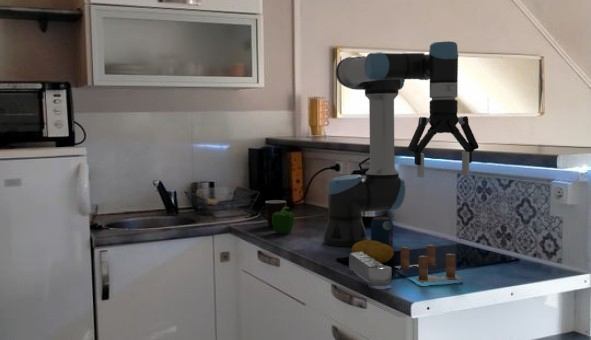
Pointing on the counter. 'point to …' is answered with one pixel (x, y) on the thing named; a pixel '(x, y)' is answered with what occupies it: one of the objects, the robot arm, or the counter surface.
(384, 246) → the potato
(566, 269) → the counter surface
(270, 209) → the coffee mug
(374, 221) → the soda can
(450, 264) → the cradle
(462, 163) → the robot arm
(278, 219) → the bell pepper
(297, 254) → the counter surface
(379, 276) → the grey ridged block
